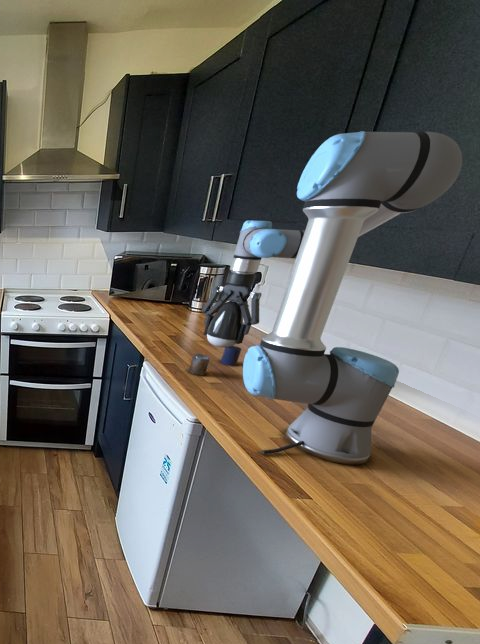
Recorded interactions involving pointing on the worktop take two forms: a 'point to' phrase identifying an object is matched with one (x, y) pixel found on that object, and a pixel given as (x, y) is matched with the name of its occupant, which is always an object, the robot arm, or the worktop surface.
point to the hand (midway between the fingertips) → (222, 338)
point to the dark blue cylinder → (231, 355)
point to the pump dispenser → (225, 325)
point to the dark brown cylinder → (199, 364)
